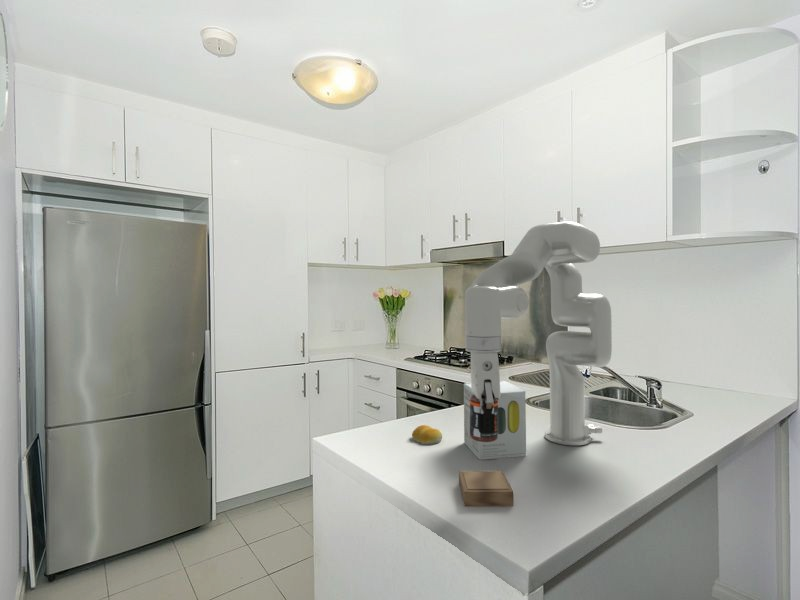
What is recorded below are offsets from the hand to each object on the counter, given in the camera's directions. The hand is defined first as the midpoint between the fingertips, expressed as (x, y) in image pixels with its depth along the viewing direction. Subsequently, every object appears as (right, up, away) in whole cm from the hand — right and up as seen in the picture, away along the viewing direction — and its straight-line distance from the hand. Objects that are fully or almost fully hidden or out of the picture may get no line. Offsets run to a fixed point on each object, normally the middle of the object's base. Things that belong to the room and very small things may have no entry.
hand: (483, 426), depth 92 cm
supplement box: (+8, -14, +26) cm, 31 cm away
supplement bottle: (0, -3, 0) cm, 3 cm away
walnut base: (0, -15, 0) cm, 15 cm away
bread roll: (-10, -15, +35) cm, 39 cm away
